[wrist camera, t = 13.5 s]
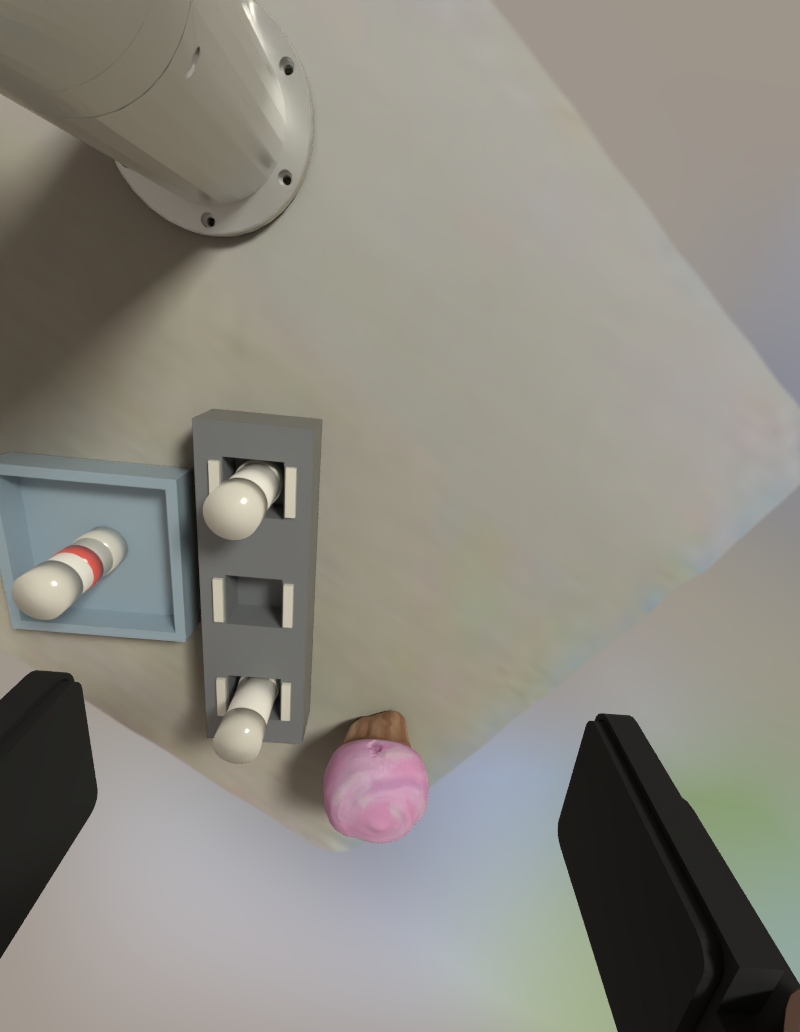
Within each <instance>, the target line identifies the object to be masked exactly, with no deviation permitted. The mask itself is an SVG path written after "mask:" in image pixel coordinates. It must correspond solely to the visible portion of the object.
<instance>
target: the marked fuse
mask: <svg viewBox="0 0 800 1032" xmlns="http://www.w3.org/2000/svg"><path fill="white" fill-rule="evenodd" d="M127 554H128V545H127V542H126V540H125V539H124V537H123V536H122V535H121V534H120V533H119V532H117V531H116V530H114V529H112V528H109V527H105V526H99V527H95V528H93V529H91V530H89V531H88V532H86V533H85V534H83V535H82V536H80V537H79V538H77V539H76V540H75V541H73V543H72V544H71V545H69V546H67V547H65V548H64V549H62V550H61V551H59V552H58V553H56V554H55V555H53V556H52V557H51V558H50V559H49V560H47V561H44V562H42V563H40V564H38V565H37V566H35V567H34V568H32V569H31V570H29V571H28V572H26V573H25V574H23V575H22V576H20V577H19V578H17V579H16V580H15V582H14V583H13V585H12V589H11V594H12V598H13V600H14V602H15V604H16V605H17V607H18V608H19V609H20V610H21V611H22V612H24V613H25V614H26V615H28V616H30V617H32V618H35V619H39V620H51V619H54V618H56V617H58V616H59V615H61V614H62V613H63V612H64V611H65V610H66V609H68V608H69V607H70V606H71V605H72V604H73V603H75V602H76V601H77V600H78V599H79V598H80V597H81V595H82V594H83V593H84V592H86V591H87V590H89V589H90V588H91V587H92V586H94V585H95V584H96V583H97V582H98V581H99V580H100V579H101V578H102V577H103V576H105V575H107V574H109V573H110V572H111V571H112V570H113V569H115V568H116V567H117V566H118V565H119V564H120V563H122V562H123V561H124V560H125V559H126V557H127Z"/></svg>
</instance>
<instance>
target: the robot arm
mask: <svg viewBox="0 0 800 1032" xmlns="http://www.w3.org/2000/svg"><path fill="white" fill-rule="evenodd" d="M290 68H291V69H293V73H292V74H291V75H288V76H287V75H286V70H287V69H290ZM0 93H1V94H2V95H3V96H5V97H7V98H9V99H10V100H12V101H14V102H15V103H17V104H19V105H21V106H22V107H24V108H26V109H28V110H29V111H31V112H33V113H34V114H36V115H38V116H40V117H41V118H43V119H45V120H47V121H48V122H50V123H52V124H53V125H55V126H57V127H59V128H60V129H62V130H64V131H66V132H67V133H69V134H71V135H72V136H74V137H76V138H78V139H79V140H81V141H83V142H85V143H86V144H88V145H90V146H91V147H93V148H95V149H97V150H98V151H100V152H102V153H104V154H105V155H107V156H109V157H110V158H112V159H113V160H114V162H115V164H116V166H117V168H118V169H119V171H120V173H121V174H122V176H123V177H124V179H125V180H126V181H127V183H128V184H129V186H130V187H131V188H132V190H133V191H134V192H135V193H136V194H137V195H138V196H139V197H140V198H141V199H142V200H143V201H144V202H145V204H146V205H147V206H148V207H149V208H151V209H152V210H154V211H155V212H156V213H158V214H159V215H160V216H162V217H163V218H165V219H166V220H168V221H169V222H171V223H173V224H175V225H177V226H179V227H181V228H184V229H186V230H189V231H192V232H195V233H197V234H201V235H207V236H213V237H233V236H239V235H243V234H246V233H250V232H254V231H256V230H257V229H259V228H261V227H263V226H265V225H267V224H269V223H270V222H271V221H273V220H274V219H275V218H276V217H277V216H278V215H280V214H281V213H282V212H283V211H284V210H285V209H286V208H287V206H288V205H289V204H290V202H291V201H292V200H293V198H294V197H295V196H296V194H297V192H298V190H299V188H300V186H301V184H302V182H303V180H304V178H305V176H306V173H307V169H308V166H309V162H310V159H311V155H312V147H313V138H314V118H313V106H312V101H311V96H310V91H309V86H308V83H307V80H306V77H305V74H304V71H303V68H302V65H301V63H300V61H299V59H298V57H297V55H296V52H295V50H294V48H293V46H292V44H291V42H290V40H289V39H288V37H287V36H286V35H285V33H284V32H283V30H282V29H281V27H280V26H279V24H278V23H277V21H276V20H275V19H274V18H273V17H272V16H271V15H270V14H269V13H268V12H267V11H266V10H265V9H264V8H263V7H262V6H261V5H260V4H259V3H258V2H257V1H255V0H0ZM286 177H290V178H291V183H290V184H289V185H285V184H284V179H285V178H286ZM213 218H214V220H215V225H214V226H213V227H211V226H210V224H209V221H210V219H213ZM96 800H97V783H96V778H95V770H94V764H93V757H92V750H91V745H90V737H89V731H88V724H87V718H86V711H85V704H84V698H83V691H82V686H81V684H80V683H79V682H74V679H73V676H72V675H71V674H70V673H64V672H51V671H38V670H36V671H32V672H30V673H29V674H28V675H26V676H25V677H24V678H23V679H22V680H21V681H20V682H19V683H18V684H17V685H16V686H15V687H13V688H12V689H11V690H10V691H9V692H8V693H7V694H6V695H5V696H4V697H3V698H2V699H1V700H0V958H1V957H2V955H3V953H4V952H5V950H6V949H7V947H8V946H9V944H10V942H11V941H12V939H13V938H14V936H15V934H16V933H17V931H18V930H19V928H20V926H21V925H22V923H23V922H24V920H25V918H26V917H27V915H28V914H29V912H30V910H31V909H32V907H33V906H34V904H35V902H36V901H37V899H38V898H39V896H40V894H41V893H42V891H43V890H44V888H45V886H46V885H47V883H48V881H49V880H50V878H51V877H52V875H53V874H54V872H55V870H56V869H57V867H58V866H59V864H60V863H61V861H62V859H63V858H64V856H65V855H66V853H67V851H68V850H69V848H70V846H71V845H72V843H73V842H74V840H75V839H76V837H77V835H78V834H79V832H80V830H81V829H82V827H83V826H84V824H85V823H86V821H87V819H88V818H89V816H90V814H91V813H92V811H93V809H94V806H95V803H96ZM558 838H559V843H560V847H561V850H562V853H563V857H564V860H565V863H566V866H567V869H568V873H569V876H570V879H571V883H572V886H573V889H574V892H575V895H576V899H577V902H578V905H579V908H580V911H581V915H582V918H583V921H584V924H585V927H586V931H587V934H588V937H589V941H590V944H591V947H592V950H593V953H594V957H595V960H596V963H597V966H598V970H599V973H600V976H601V979H602V982H603V985H604V989H605V992H606V995H607V998H608V1002H609V1005H610V1008H611V1011H612V1014H613V1018H614V1021H615V1024H616V1027H617V1031H618V1032H800V984H799V982H798V981H797V979H796V977H795V976H794V974H793V973H792V971H791V970H790V968H789V966H788V964H787V963H786V961H785V960H784V958H783V956H782V954H781V953H780V951H779V950H778V948H777V946H776V945H775V943H774V941H773V940H772V938H771V936H770V935H769V933H768V931H767V930H766V928H765V927H764V925H763V923H762V922H761V920H760V918H759V917H758V915H757V913H756V912H755V910H754V908H753V907H752V905H751V904H750V902H749V900H748V899H747V897H746V895H745V894H744V892H743V890H742V889H741V887H740V885H739V884H738V882H737V880H736V879H735V877H734V876H733V874H732V872H731V871H730V869H729V867H728V866H727V864H726V862H725V861H724V859H723V857H722V856H721V854H720V853H719V851H718V849H717V848H716V846H715V844H714V843H713V841H712V839H711V838H710V836H709V835H708V833H707V831H706V829H705V828H704V826H703V825H702V823H701V821H700V820H699V818H698V816H697V815H696V813H695V811H694V810H693V809H692V807H691V806H690V805H689V803H688V802H687V801H686V800H684V799H683V798H682V797H681V795H680V793H679V792H678V790H677V788H676V787H675V785H674V783H673V782H672V780H671V778H670V777H669V775H668V773H667V772H666V770H665V768H664V767H663V765H662V763H661V762H660V760H659V759H658V757H657V755H656V753H655V752H654V750H653V748H652V747H651V745H650V744H649V742H648V740H647V739H646V737H645V735H644V733H643V732H642V730H641V728H640V727H639V725H638V723H637V722H636V721H635V719H634V718H633V717H631V716H629V715H616V714H615V715H614V714H598V715H597V716H596V719H595V721H589V722H588V723H587V725H586V727H585V731H584V734H583V738H582V741H581V745H580V748H579V752H578V755H577V759H576V762H575V766H574V769H573V773H572V776H571V780H570V783H569V787H568V790H567V794H566V797H565V801H564V804H563V808H562V811H561V815H560V818H559V822H558Z"/></svg>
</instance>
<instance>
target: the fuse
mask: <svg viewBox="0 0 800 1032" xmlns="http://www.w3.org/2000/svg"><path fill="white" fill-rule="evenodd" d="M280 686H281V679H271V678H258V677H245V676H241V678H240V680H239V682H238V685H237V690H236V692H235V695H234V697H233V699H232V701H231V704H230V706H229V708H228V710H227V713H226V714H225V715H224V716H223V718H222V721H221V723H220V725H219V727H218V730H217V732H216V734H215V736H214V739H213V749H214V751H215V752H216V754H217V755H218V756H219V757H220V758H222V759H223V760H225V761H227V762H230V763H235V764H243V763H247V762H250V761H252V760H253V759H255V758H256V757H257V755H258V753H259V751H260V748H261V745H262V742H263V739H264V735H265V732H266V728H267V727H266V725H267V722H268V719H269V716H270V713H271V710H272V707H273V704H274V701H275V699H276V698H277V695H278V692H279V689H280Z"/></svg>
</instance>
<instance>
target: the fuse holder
mask: <svg viewBox="0 0 800 1032" xmlns="http://www.w3.org/2000/svg"><path fill="white" fill-rule="evenodd" d="M192 428H193V450H194V471H195V492H196V514H197V535H198V556H199V577H200V599H201V620H202V641H203V663H204V684H205V705H206V726H207V738H214V736H215V734H216V732H217V730H218V727H219V725H220V723H221V721H222V718H223V716H224V715H225V714H226V713H227V710H228V708H229V706H230V704H231V701H232V699H233V697H234V695H235V692H236V690H237V685H238V682H239V680H240V678H241V676H245V677H258V678H271V679H281V686H280V689H279V692H278V695H277V698H276V699H275V701H274V704H273V707H272V710H271V713H270V716H269V719H268V722H267V725H266V727H267V728H266V732H265V735H264V739H263V742H274V743H288V744H302V742H303V738H304V734H305V729H306V725H307V720H308V716H309V712H310V691H311V668H312V645H313V622H314V599H315V575H316V552H317V529H318V506H319V483H320V459H321V436H322V419H313V418H302V417H292V416H282V415H271V414H261V413H251V412H240V411H230V410H219V409H211V410H209V411H207V412H205V413H203V414H200V415H198V416H196V417H194V418H192ZM248 459H254V460H265V461H276V462H280V463H281V464H282V465H283V467H284V490H283V491H282V493H281V494H280V495H279V497H278V498H277V500H276V501H275V502H273V503H272V504H271V506H270V507H269V509H268V510H267V513H266V515H265V517H264V519H263V520H262V522H261V523H260V524H259V526H258V527H257V529H256V530H255V531H254V533H253V534H251V535H250V536H249V537H247V538H244V539H241V540H228V539H224V538H222V537H220V536H218V535H216V534H215V533H214V532H213V531H212V530H211V529H210V528H209V527H208V526H207V524H206V522H205V520H204V516H203V505H204V502H205V500H206V498H207V497H208V495H209V494H210V493H211V492H213V491H214V490H215V489H216V488H217V487H218V486H219V485H220V484H221V483H223V482H224V481H226V480H228V479H229V478H230V477H231V476H233V475H234V474H235V472H236V471H237V469H238V468H239V467H240V466H241V465H242V464H244V463H245V462H246V461H247V460H248Z"/></svg>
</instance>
